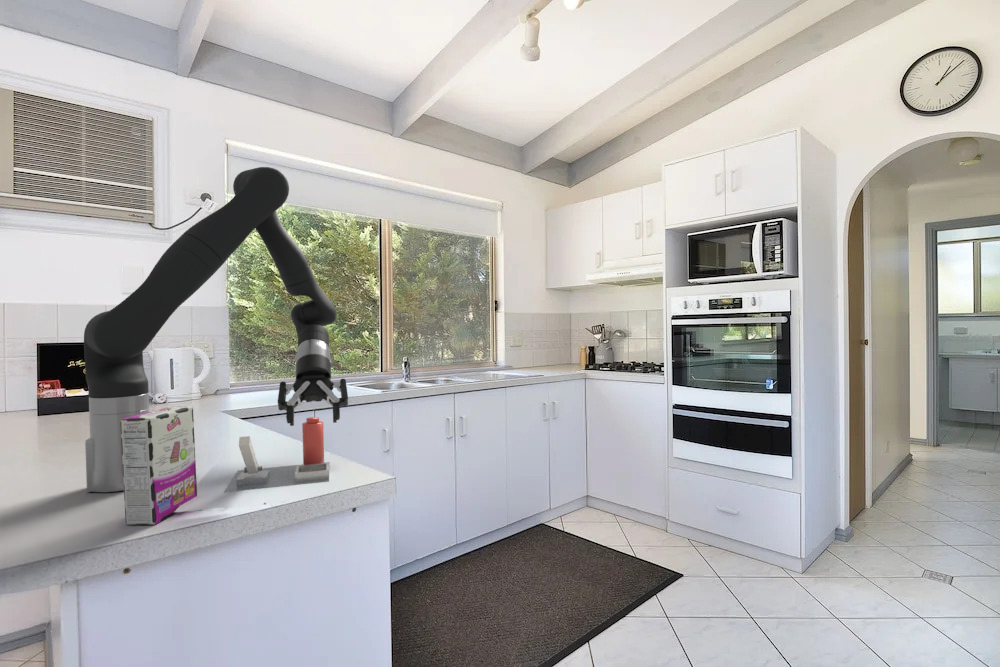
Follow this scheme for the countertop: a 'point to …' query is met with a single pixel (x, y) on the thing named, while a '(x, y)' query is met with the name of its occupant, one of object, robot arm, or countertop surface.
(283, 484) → the panel
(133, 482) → the candy bar box
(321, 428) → the red cylindrical peg
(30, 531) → the countertop surface
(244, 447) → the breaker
